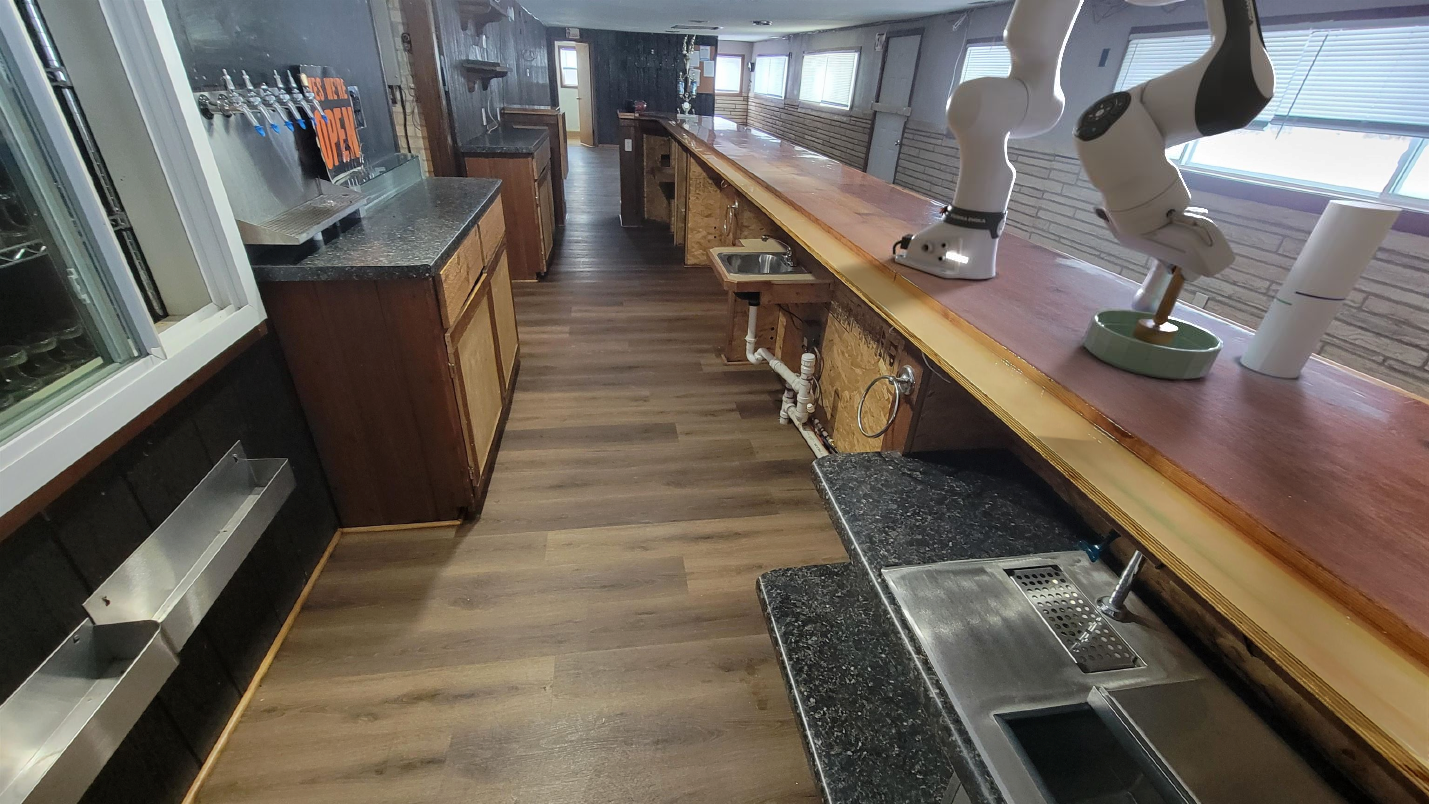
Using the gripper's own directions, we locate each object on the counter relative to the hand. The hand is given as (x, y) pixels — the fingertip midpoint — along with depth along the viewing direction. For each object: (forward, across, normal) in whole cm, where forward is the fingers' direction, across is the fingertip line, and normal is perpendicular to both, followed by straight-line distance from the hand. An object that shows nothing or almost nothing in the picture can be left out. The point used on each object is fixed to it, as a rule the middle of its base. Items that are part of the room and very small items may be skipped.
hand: (1184, 275), depth 84 cm
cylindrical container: (+23, -2, -3) cm, 23 cm away
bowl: (+9, 0, +10) cm, 14 cm away
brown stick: (+7, 0, +8) cm, 10 cm away
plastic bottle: (+19, +20, 0) cm, 28 cm away
